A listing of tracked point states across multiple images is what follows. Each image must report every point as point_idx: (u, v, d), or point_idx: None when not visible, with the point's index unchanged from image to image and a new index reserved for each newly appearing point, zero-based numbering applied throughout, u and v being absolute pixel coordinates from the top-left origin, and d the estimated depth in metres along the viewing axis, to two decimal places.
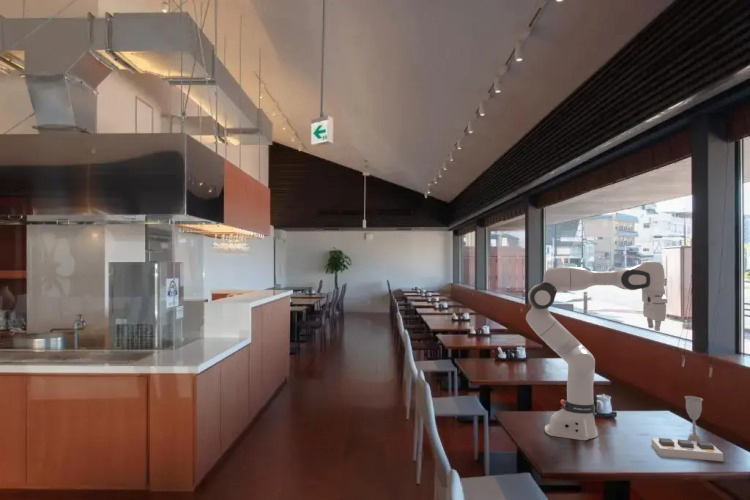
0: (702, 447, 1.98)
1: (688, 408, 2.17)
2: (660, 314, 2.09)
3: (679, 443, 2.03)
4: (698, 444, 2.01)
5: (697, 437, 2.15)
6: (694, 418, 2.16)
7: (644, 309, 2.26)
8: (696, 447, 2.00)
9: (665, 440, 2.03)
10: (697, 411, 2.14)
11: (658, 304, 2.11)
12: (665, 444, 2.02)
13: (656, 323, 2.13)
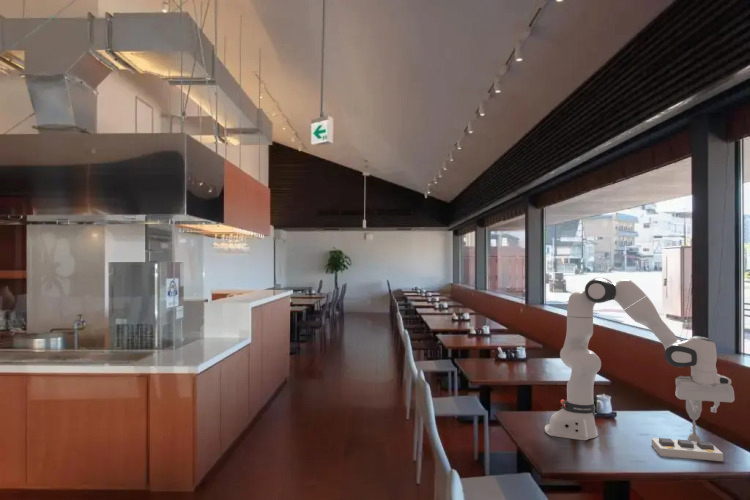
0: (702, 447, 1.98)
1: (688, 408, 2.17)
2: None
3: (679, 443, 2.03)
4: (698, 444, 2.01)
5: (697, 437, 2.15)
6: (694, 418, 2.16)
7: (684, 391, 2.01)
8: (696, 447, 2.00)
9: (665, 440, 2.03)
10: (697, 411, 2.14)
11: None
12: (665, 444, 2.02)
13: None
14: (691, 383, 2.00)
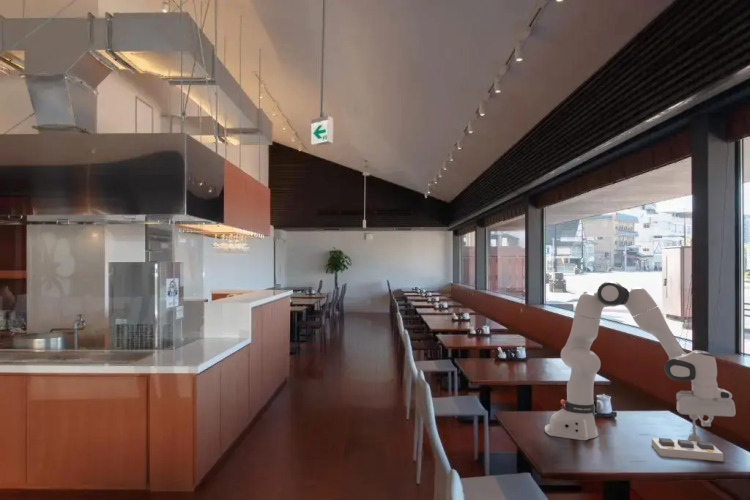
0: (702, 447, 1.98)
1: None
2: None
3: (679, 443, 2.03)
4: (698, 444, 2.01)
5: (697, 437, 2.15)
6: (694, 418, 2.16)
7: (686, 406, 2.01)
8: (696, 447, 2.00)
9: (665, 440, 2.03)
10: None
11: None
12: (665, 444, 2.02)
13: None
14: (692, 398, 2.00)
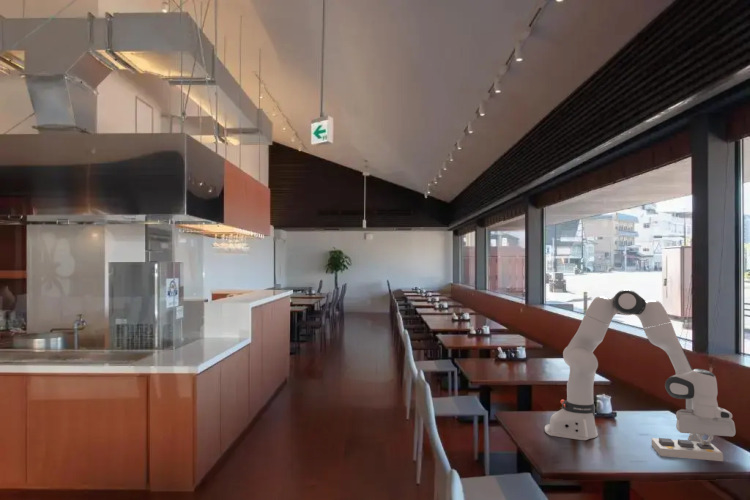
0: None
1: (688, 408, 2.17)
2: None
3: (679, 443, 2.03)
4: (698, 446, 2.01)
5: (697, 437, 2.15)
6: None
7: (685, 425, 2.01)
8: (696, 447, 2.00)
9: (665, 440, 2.03)
10: None
11: None
12: (665, 444, 2.02)
13: None
14: (692, 417, 2.00)
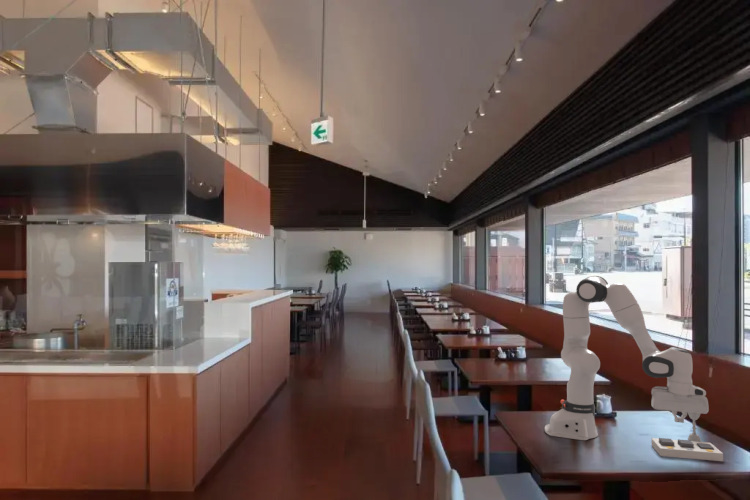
0: None
1: None
2: None
3: (679, 443, 2.03)
4: (698, 446, 2.01)
5: (697, 437, 2.15)
6: (694, 418, 2.16)
7: (660, 401, 2.03)
8: (696, 447, 2.00)
9: (665, 440, 2.03)
10: None
11: None
12: (665, 444, 2.02)
13: None
14: (667, 393, 2.03)
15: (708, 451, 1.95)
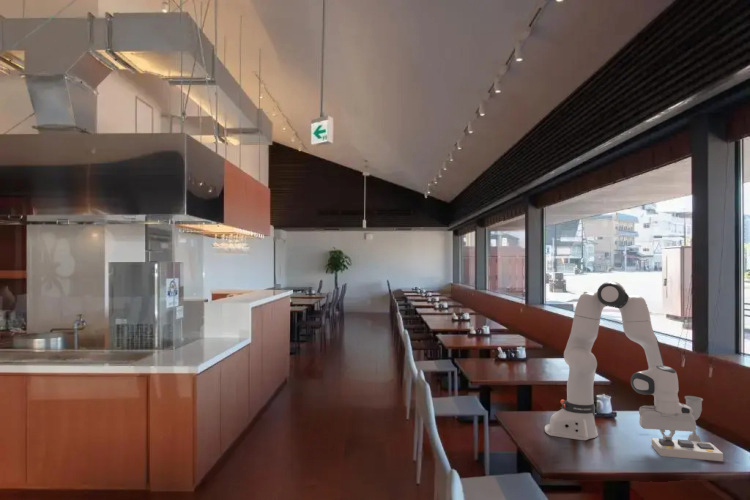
0: None
1: None
2: None
3: (679, 443, 2.03)
4: (698, 446, 2.01)
5: (697, 437, 2.15)
6: None
7: (648, 420, 2.04)
8: (696, 447, 2.00)
9: (665, 441, 2.03)
10: (697, 411, 2.14)
11: None
12: (665, 445, 2.02)
13: None
14: (654, 413, 2.04)
15: (708, 451, 1.95)
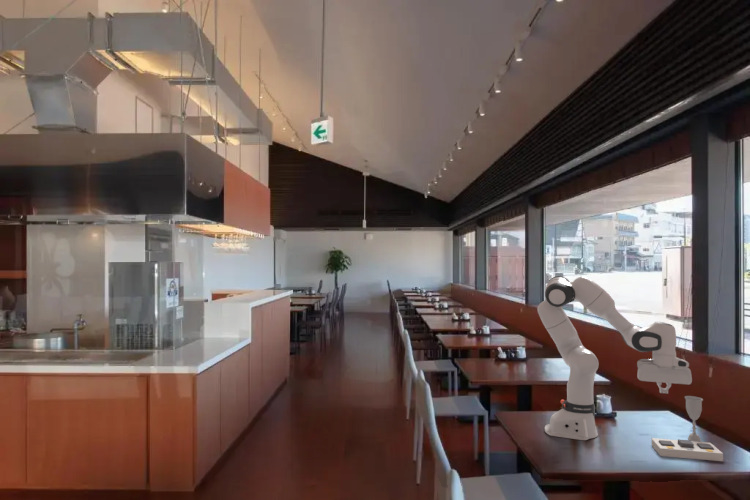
0: None
1: (688, 408, 2.17)
2: None
3: (679, 443, 2.03)
4: (698, 446, 2.01)
5: (697, 437, 2.15)
6: (694, 418, 2.16)
7: (645, 373, 2.12)
8: (696, 447, 2.00)
9: (665, 443, 2.03)
10: (697, 411, 2.14)
11: None
12: None
13: (670, 385, 2.10)
14: (651, 365, 2.11)
15: (708, 451, 1.95)
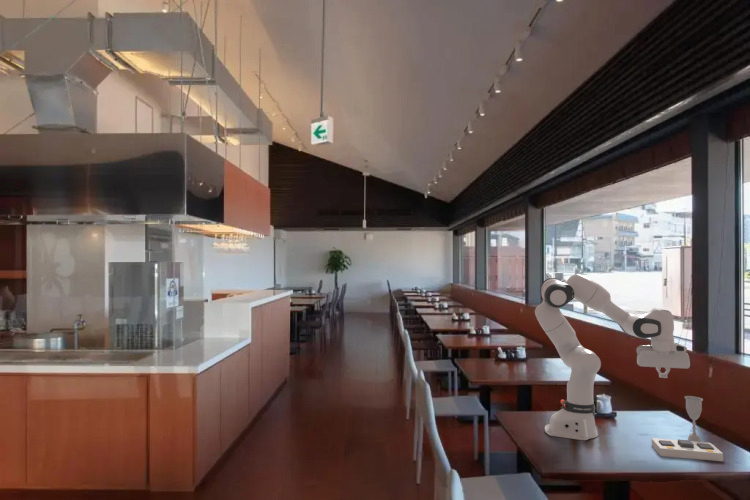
0: None
1: (688, 408, 2.17)
2: None
3: (679, 443, 2.03)
4: (698, 446, 2.01)
5: (697, 437, 2.15)
6: (694, 418, 2.16)
7: (645, 359, 2.17)
8: (696, 447, 2.00)
9: (665, 443, 2.03)
10: (697, 411, 2.14)
11: None
12: None
13: (669, 370, 2.16)
14: (651, 351, 2.17)
15: (708, 451, 1.95)
